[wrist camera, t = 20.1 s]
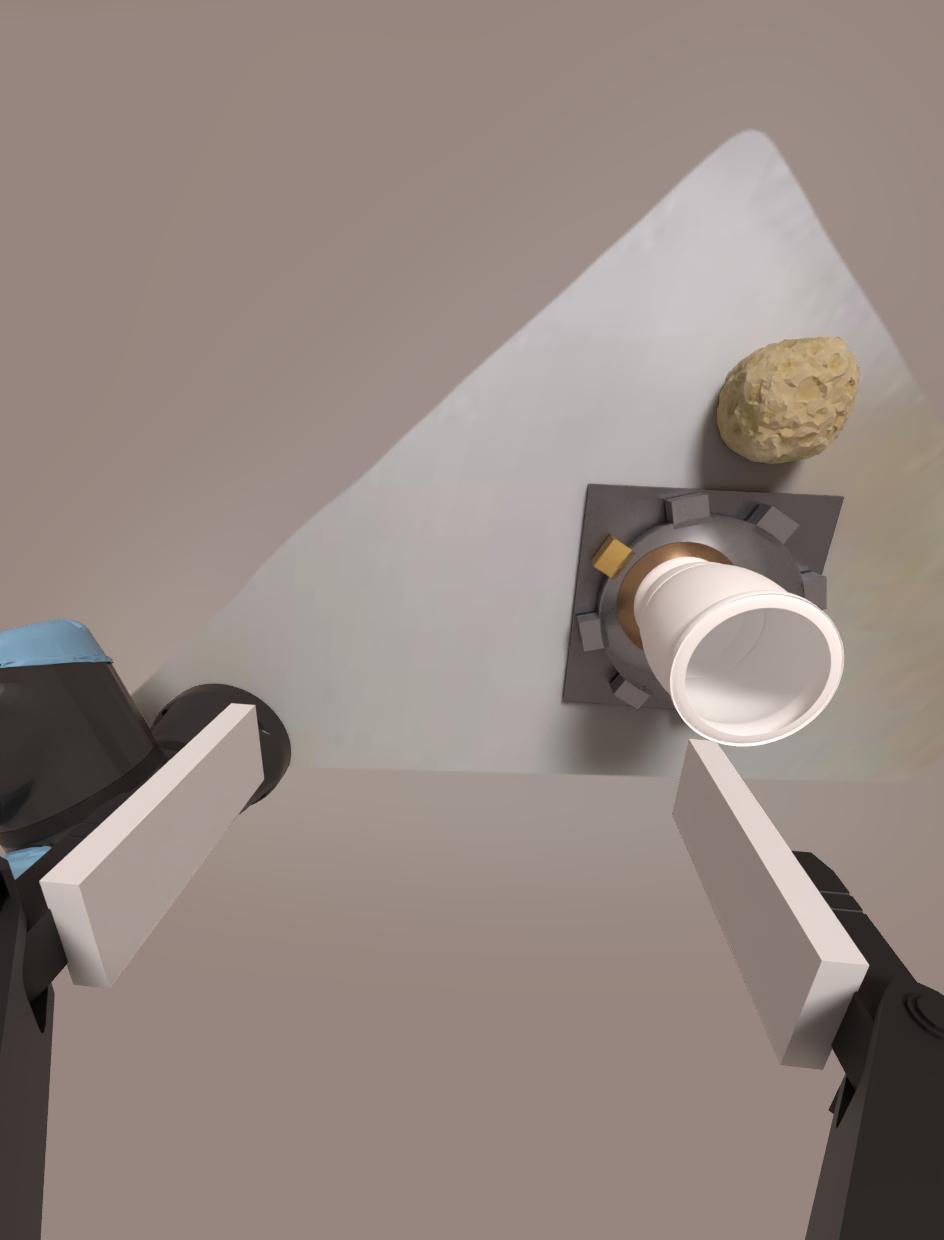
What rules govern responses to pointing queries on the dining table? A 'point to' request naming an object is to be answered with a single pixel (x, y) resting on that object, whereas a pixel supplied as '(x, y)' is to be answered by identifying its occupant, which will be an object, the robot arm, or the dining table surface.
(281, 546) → the dining table surface
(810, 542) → the base plate
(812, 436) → the decorative object
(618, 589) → the sprocket
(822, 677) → the jar
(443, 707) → the dining table surface
